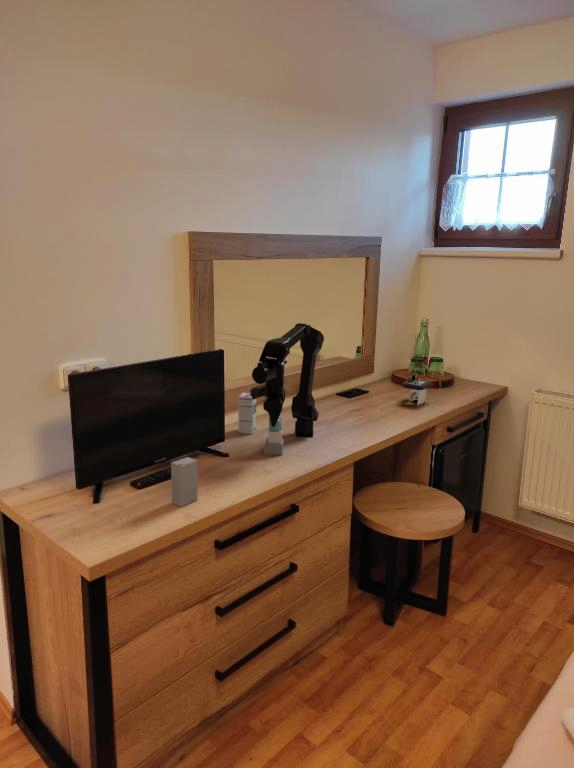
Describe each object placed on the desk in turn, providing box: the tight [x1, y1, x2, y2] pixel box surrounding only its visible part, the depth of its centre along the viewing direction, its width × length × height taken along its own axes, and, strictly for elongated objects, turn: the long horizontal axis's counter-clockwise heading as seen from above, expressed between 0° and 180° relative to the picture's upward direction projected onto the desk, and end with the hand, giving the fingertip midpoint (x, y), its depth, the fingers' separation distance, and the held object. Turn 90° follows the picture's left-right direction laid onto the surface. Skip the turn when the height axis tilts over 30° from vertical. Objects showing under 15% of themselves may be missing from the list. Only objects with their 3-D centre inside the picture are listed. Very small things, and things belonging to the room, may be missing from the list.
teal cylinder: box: [268, 417, 283, 432], centre depth 199 cm, size 4×4×4 cm
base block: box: [264, 437, 285, 456], centre depth 201 cm, size 6×6×4 cm
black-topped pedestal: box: [402, 373, 433, 406], centre depth 266 cm, size 28×26×13 cm
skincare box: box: [170, 456, 198, 507], centre depth 159 cm, size 6×4×12 cm
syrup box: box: [237, 392, 257, 435], centre depth 219 cm, size 6×6×14 cm
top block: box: [267, 429, 283, 443], centre depth 200 cm, size 4×4×4 cm
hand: (274, 422), depth 199 cm, fingers open, 9 cm apart
